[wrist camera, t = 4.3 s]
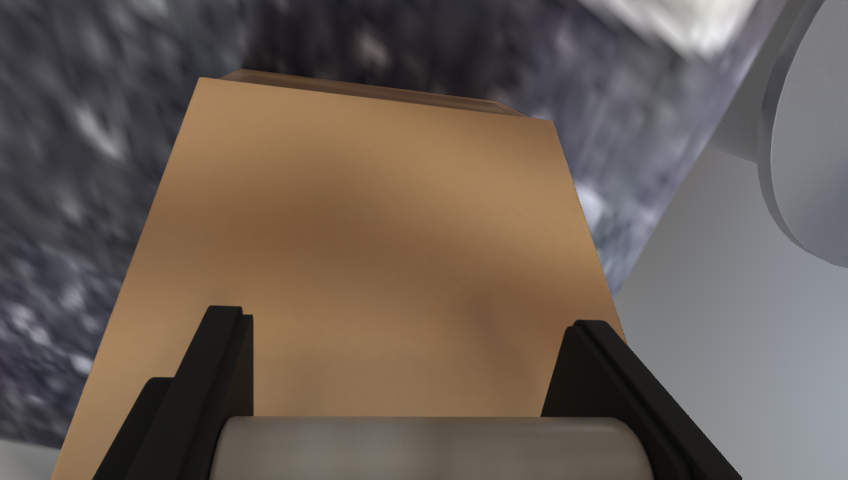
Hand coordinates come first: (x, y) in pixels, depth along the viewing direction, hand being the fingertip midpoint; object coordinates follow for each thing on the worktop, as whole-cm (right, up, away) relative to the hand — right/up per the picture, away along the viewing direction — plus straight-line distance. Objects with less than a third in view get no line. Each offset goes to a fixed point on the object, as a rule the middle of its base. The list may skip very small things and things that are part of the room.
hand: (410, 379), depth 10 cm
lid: (-1, +1, +5) cm, 5 cm away
